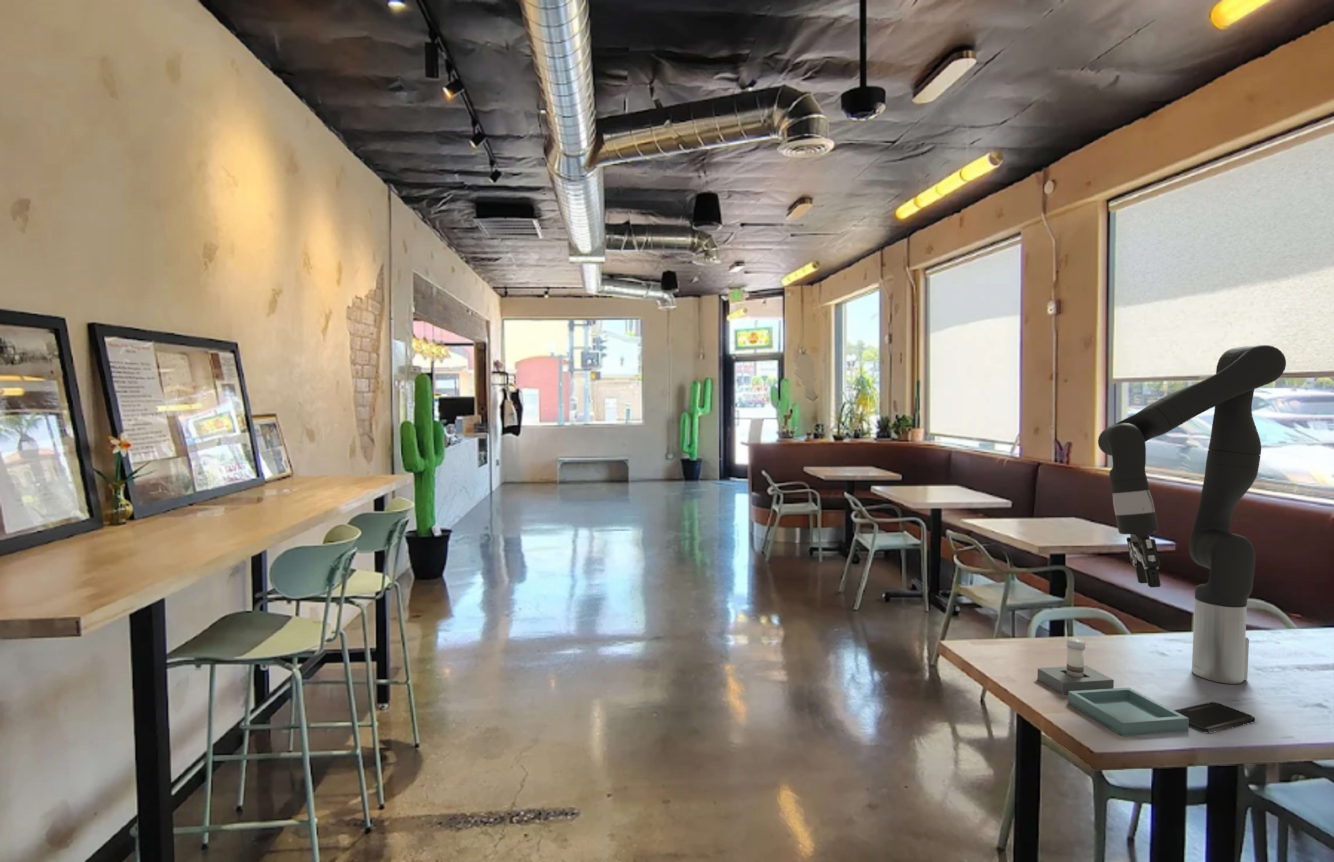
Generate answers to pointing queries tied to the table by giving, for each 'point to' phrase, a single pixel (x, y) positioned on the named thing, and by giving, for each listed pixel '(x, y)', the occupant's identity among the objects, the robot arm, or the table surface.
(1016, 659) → the table surface
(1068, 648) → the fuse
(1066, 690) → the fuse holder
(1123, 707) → the parts tray
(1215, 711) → the phone
